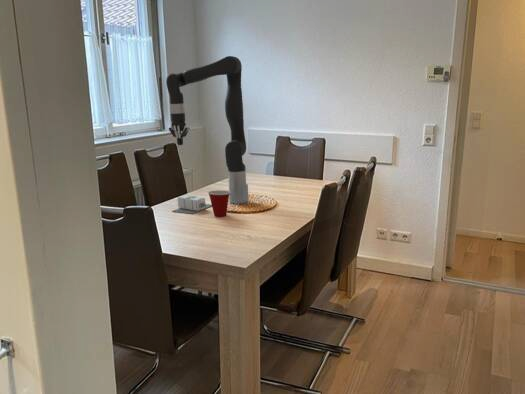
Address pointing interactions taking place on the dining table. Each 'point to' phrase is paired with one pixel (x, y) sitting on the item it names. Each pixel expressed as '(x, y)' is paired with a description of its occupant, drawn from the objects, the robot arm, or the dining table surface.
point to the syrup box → (191, 202)
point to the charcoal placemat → (188, 211)
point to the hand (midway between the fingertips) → (180, 145)
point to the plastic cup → (219, 202)
